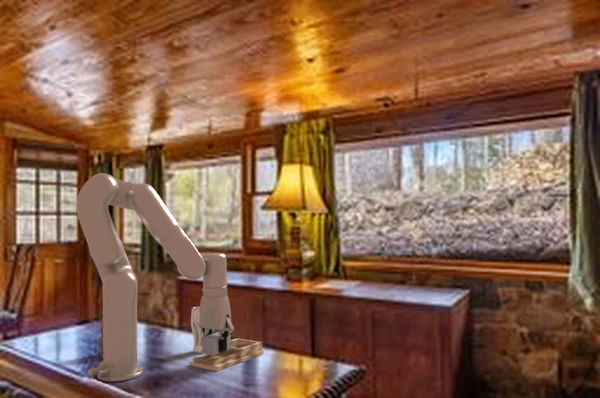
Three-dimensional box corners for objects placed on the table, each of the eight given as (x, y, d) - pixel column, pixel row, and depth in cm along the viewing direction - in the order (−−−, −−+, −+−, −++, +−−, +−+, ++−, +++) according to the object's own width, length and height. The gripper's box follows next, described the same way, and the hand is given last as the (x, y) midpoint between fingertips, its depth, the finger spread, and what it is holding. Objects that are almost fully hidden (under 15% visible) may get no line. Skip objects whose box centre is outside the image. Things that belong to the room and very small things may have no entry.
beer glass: (214, 348, 178) (213, 306, 178) (208, 354, 171) (208, 309, 171) (194, 348, 178) (194, 306, 179) (188, 353, 172) (188, 309, 172)
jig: (217, 371, 151) (217, 357, 151) (189, 365, 158) (189, 352, 158) (263, 354, 169) (263, 342, 170) (236, 349, 176) (236, 338, 176)
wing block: (213, 355, 155) (213, 338, 155) (202, 353, 157) (202, 337, 157) (230, 348, 162) (230, 332, 162) (219, 347, 164) (219, 331, 164)
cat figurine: (128, 354, 172) (128, 319, 173) (108, 360, 166) (108, 323, 166) (113, 351, 177) (112, 316, 177) (92, 356, 170) (92, 320, 171)
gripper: (187, 292, 162) (189, 349, 161) (226, 295, 152) (228, 356, 152) (204, 289, 168) (205, 344, 167) (243, 292, 158) (244, 350, 158)
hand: (216, 349), depth 159 cm, fingers closed on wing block, 4 cm apart
